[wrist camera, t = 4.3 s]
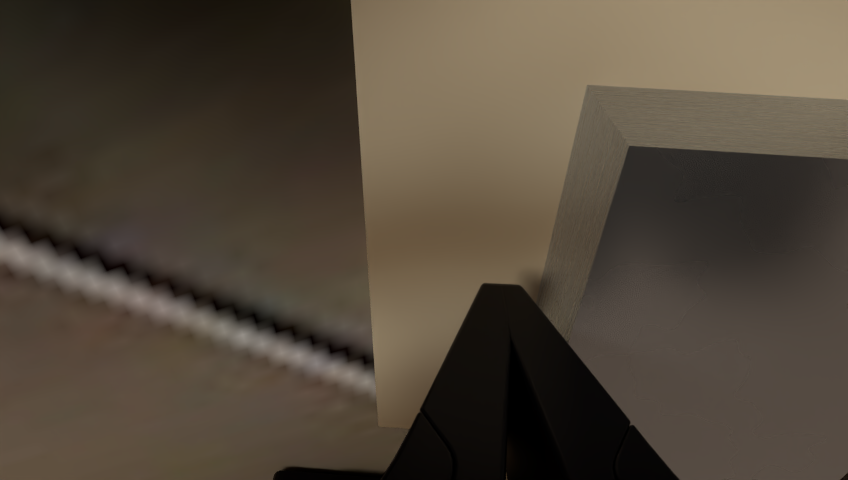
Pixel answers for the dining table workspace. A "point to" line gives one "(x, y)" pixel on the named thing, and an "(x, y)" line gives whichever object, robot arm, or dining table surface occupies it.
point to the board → (525, 134)
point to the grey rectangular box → (711, 275)
